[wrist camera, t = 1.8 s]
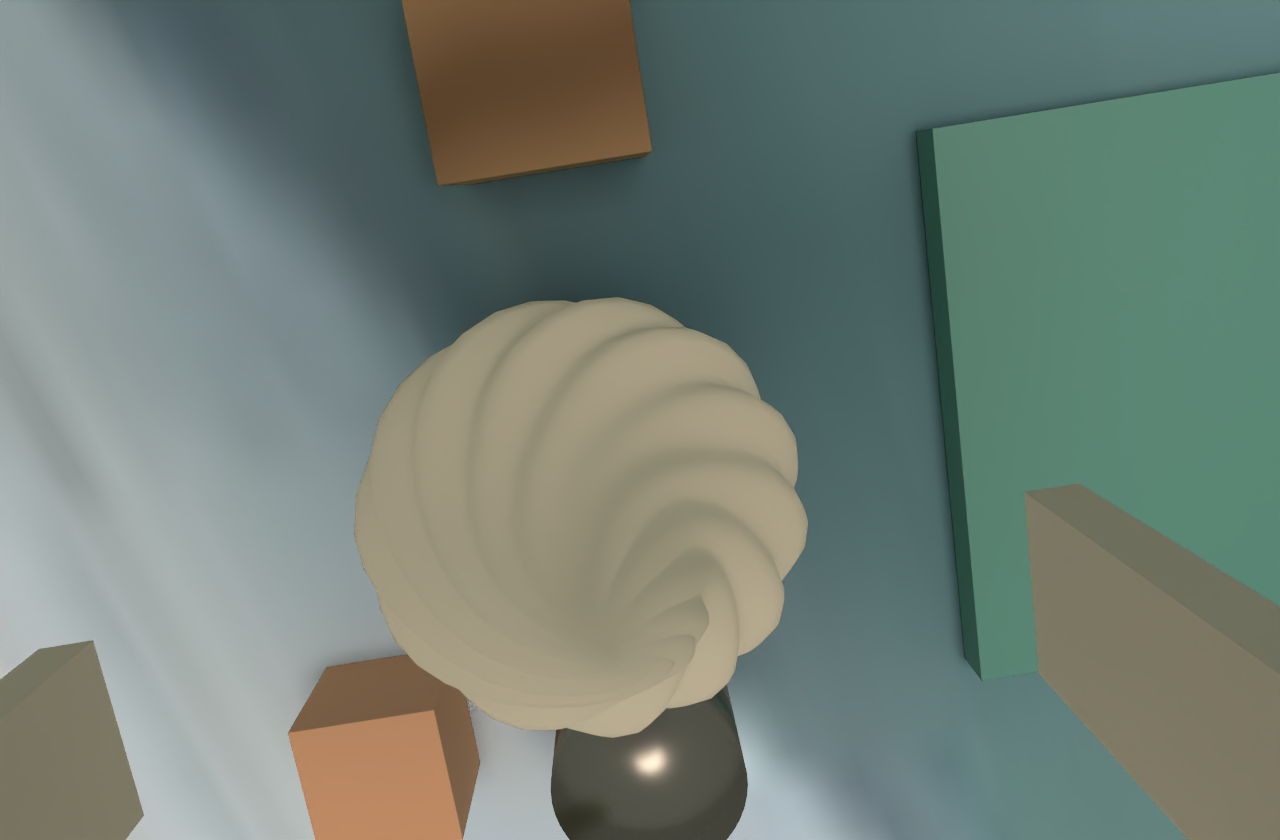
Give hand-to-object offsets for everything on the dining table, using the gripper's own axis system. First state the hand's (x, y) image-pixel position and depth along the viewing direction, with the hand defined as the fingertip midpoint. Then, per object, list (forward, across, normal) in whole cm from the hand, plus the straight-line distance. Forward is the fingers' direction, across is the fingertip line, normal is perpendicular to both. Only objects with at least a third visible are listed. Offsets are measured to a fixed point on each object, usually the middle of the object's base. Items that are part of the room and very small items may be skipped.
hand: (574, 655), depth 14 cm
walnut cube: (+16, 0, +10) cm, 19 cm away
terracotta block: (+16, -7, -8) cm, 20 cm away
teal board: (+16, +17, -2) cm, 24 cm away
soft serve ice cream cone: (+16, 0, 0) cm, 16 cm away
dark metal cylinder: (+16, 0, -8) cm, 18 cm away
